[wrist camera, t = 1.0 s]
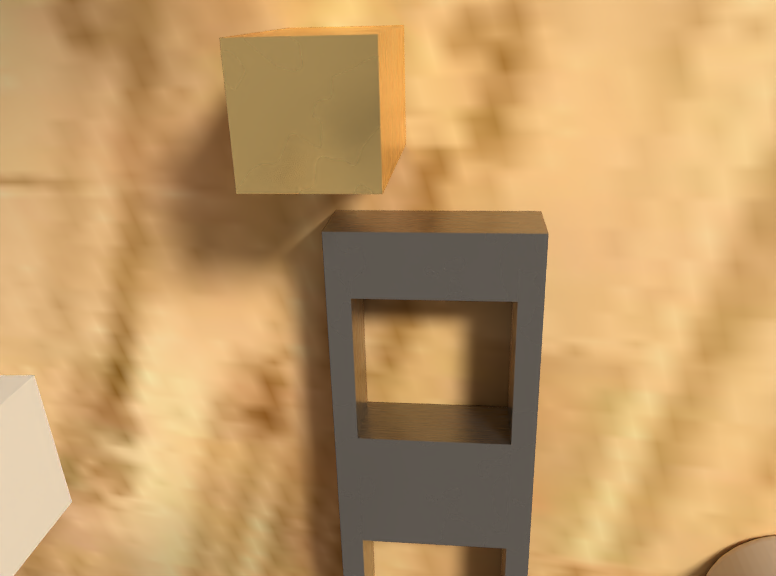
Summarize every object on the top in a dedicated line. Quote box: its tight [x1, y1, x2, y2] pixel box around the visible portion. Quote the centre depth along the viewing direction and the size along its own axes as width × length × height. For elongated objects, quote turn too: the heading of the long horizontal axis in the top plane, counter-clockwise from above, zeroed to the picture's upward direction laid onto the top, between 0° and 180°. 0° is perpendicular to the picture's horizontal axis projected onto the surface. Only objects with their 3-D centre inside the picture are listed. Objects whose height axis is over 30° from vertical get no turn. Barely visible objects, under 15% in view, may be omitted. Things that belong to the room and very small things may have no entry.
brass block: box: [219, 25, 406, 194], centre depth 24 cm, size 4×4×8 cm
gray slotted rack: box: [322, 210, 548, 576], centre depth 32 cm, size 24×8×3 cm, turn 1°
